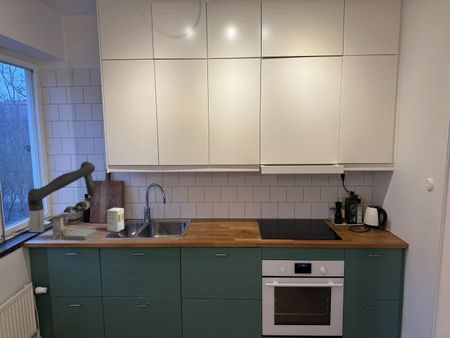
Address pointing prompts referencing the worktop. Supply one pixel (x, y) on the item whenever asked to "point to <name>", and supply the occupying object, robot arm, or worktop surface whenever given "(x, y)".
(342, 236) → the worktop surface
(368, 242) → the worktop surface
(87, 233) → the podium
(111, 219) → the supplement box
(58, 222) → the coffee box
